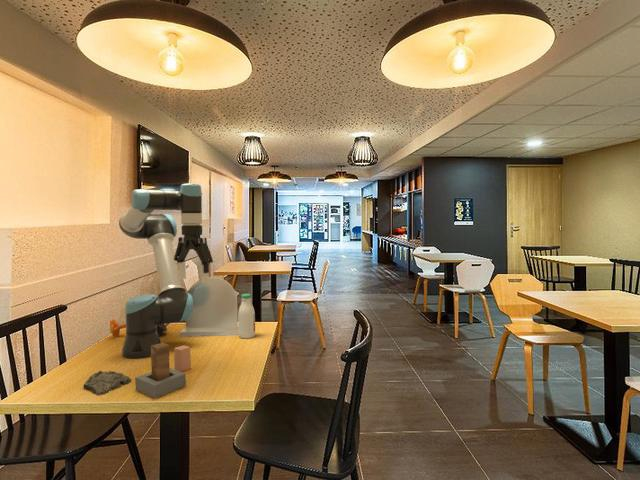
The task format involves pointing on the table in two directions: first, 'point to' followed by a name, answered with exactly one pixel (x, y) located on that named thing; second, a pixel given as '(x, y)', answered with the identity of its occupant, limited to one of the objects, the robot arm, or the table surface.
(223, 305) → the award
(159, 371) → the long peg
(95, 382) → the stone slab
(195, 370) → the table surface
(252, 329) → the milk bottle
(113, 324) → the dragon figurine
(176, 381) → the collar
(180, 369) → the short peg
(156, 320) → the robot arm
